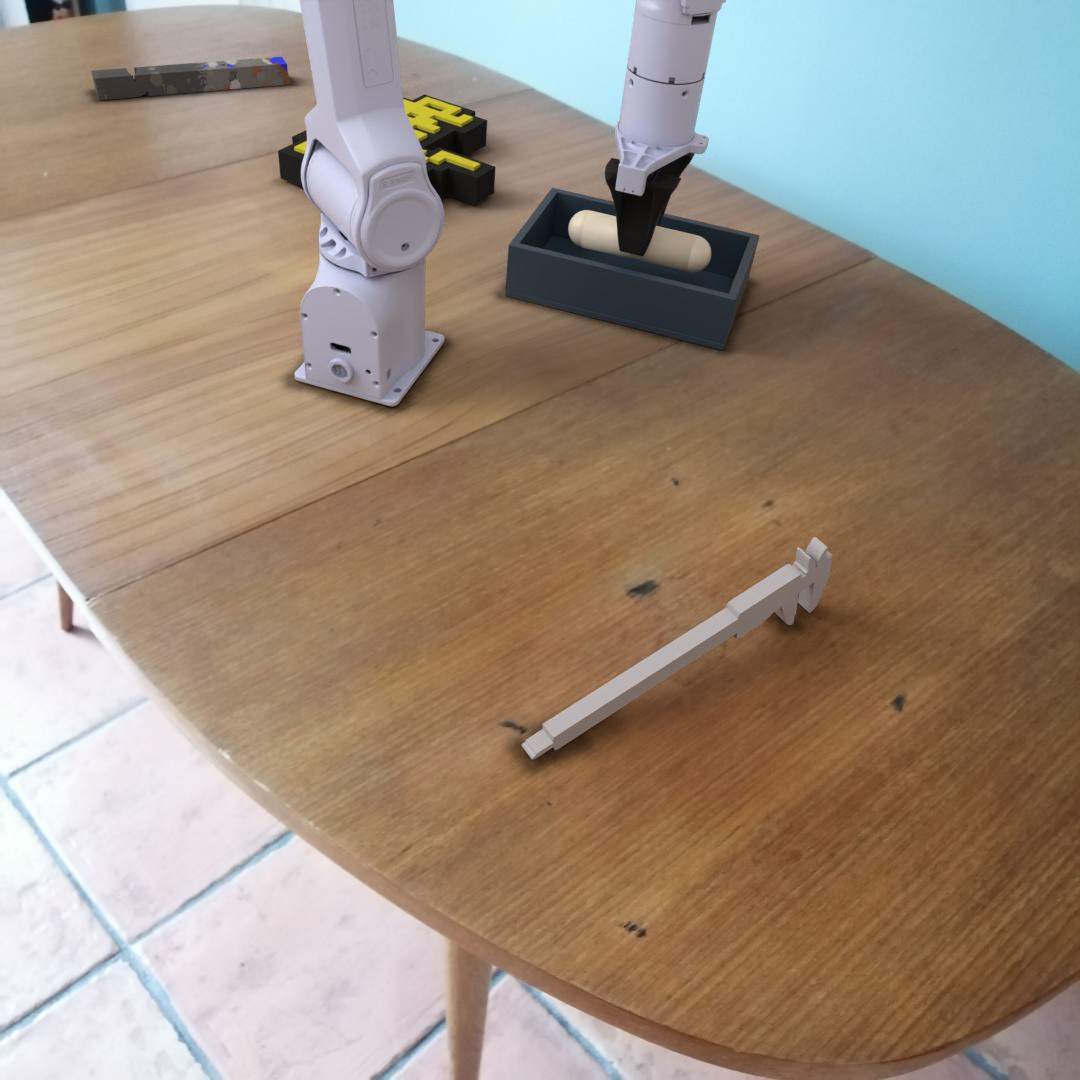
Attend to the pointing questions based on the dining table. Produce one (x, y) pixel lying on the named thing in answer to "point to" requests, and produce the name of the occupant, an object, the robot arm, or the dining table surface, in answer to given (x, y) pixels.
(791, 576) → the caliper
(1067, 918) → the dining table surface
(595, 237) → the cream capsule shape
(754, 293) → the dining table surface
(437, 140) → the toy
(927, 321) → the dining table surface
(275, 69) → the pillar
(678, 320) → the bin
